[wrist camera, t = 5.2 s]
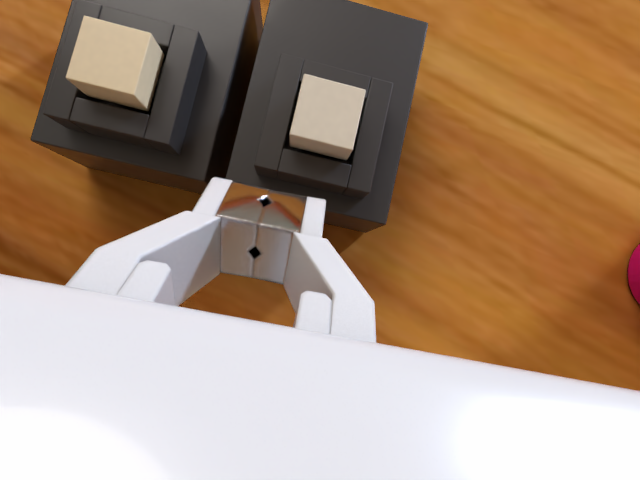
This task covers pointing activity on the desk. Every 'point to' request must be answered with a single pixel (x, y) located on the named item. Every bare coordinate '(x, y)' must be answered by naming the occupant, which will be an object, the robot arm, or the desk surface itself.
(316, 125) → the low key
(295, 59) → the low key box
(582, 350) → the desk surface
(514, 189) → the desk surface
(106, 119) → the high key box
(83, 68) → the high key
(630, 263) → the pepper mill
